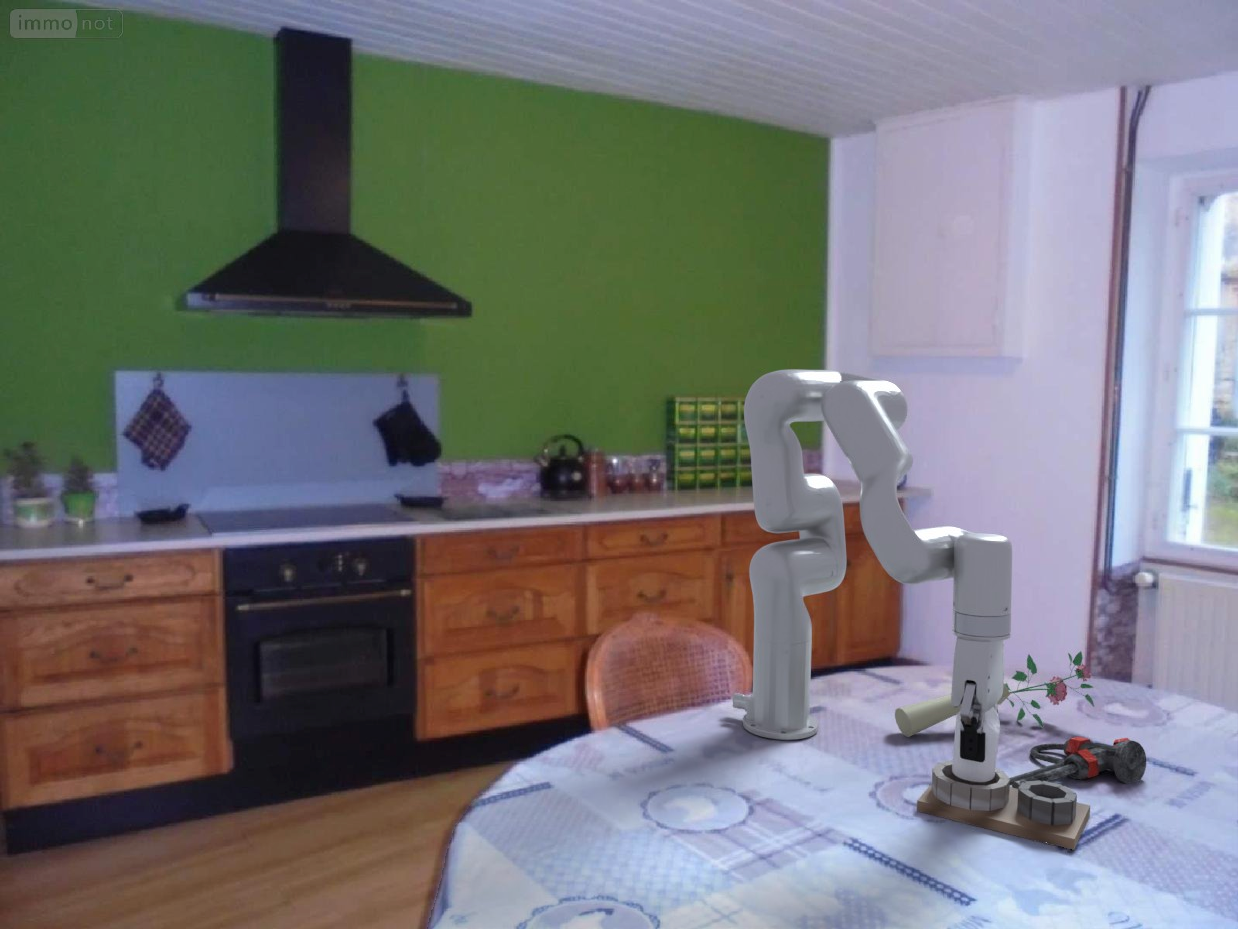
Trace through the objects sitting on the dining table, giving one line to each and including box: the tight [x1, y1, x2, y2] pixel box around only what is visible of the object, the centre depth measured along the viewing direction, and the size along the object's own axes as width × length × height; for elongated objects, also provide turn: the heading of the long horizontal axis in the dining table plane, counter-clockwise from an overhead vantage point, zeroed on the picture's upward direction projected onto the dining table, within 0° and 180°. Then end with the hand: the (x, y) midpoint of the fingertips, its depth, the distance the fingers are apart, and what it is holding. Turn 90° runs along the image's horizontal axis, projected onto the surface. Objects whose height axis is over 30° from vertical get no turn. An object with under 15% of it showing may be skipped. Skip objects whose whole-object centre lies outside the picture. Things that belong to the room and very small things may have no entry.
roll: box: [952, 705, 1001, 782], centre depth 141 cm, size 6×12×6 cm
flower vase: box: [894, 650, 1095, 738], centre depth 172 cm, size 12×12×35 cm
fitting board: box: [916, 759, 1091, 851], centre depth 139 cm, size 20×12×4 cm, turn 57°
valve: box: [1009, 736, 1147, 789], centre depth 154 cm, size 6×26×15 cm
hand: (979, 751), depth 141 cm, fingers closed on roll, 6 cm apart
